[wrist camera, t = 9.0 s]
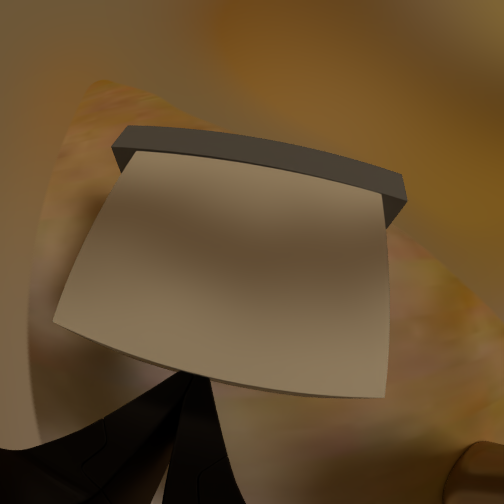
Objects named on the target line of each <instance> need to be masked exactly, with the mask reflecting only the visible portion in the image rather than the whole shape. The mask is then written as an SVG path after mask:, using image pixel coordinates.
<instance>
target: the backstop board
mask: <svg viewBox="0 0 504 504" xmlns="http://www.w3.org/2000/svg"><path fill="white" fill-rule="evenodd" d="M111 148H112V150H113V153H114V156H115V158H116V161H117V164H118V166H119V169H120V171H121V174H122V172H123V171H124V169H125V167H126V166H127V164H128V163H129V161H130V160H131V158H132V157H133V155H134V154H135V152H136V151H145V152H158V153H169V154H179V155H188V156H197V157H205V158H212V159H220V160H227V161H233V162H240V163H246V164H252V165H258V166H263V167H269V168H274V169H280V170H285V171H290V172H295V173H299V174H304V175H309V176H313V177H318V178H322V179H326V180H331V181H335V182H339V183H343V184H347V185H351V186H355V187H358V188H362V189H366V190H369V191H373V192H376V193H380V194H381V195H382V202H383V210H384V218H385V227H386V229H387V228H388V226H389V225H390V224H391V223H392V221H393V220H394V218H395V217H396V216H397V215H398V213H399V212H400V211H401V209H402V208H403V206H404V205H405V204H406V202H407V196H406V191H405V186H404V182H403V178H402V175H401V174H399V173H396V172H393V171H390V170H387V169H384V168H381V167H377V166H374V165H371V164H368V163H364V162H361V161H358V160H354V159H350V158H347V157H343V156H339V155H336V154H332V153H328V152H324V151H320V150H315V149H311V148H307V147H302V146H297V145H293V144H288V143H283V142H277V141H273V140H267V139H262V138H255V137H249V136H243V135H236V134H229V133H222V132H214V131H205V130H195V129H185V128H172V127H156V126H127V127H126V128H125V130H124V131H123V132H122V133H121V135H120V136H119V137H118V138H117V140H116V141H115V142H114V144H113V145H112V146H111Z"/></svg>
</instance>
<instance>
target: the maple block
mask: <svg viewBox="0 0 504 504" xmlns="http://www.w3.org/2000/svg"><path fill="white" fill-rule="evenodd" d="M52 322H54V323H56V324H58V325H60V326H62V327H64V328H65V329H67V330H69V331H71V332H74V333H76V334H78V335H80V336H82V337H84V338H86V339H88V340H90V341H93V342H95V343H97V344H99V345H102V346H104V347H106V348H109V349H111V350H113V351H116V352H118V353H121V354H123V355H126V356H128V357H131V358H134V359H136V360H139V361H142V362H145V363H148V364H152V365H155V366H158V367H161V368H165V369H168V370H171V371H175V372H178V371H184V372H188V373H191V374H195V375H199V376H203V377H207V378H210V381H214V382H218V383H223V384H228V385H233V386H238V387H243V388H248V389H254V390H260V391H266V392H272V393H279V394H286V395H294V396H303V397H316V398H384V397H385V388H386V378H387V367H388V353H389V329H390V288H389V264H388V249H387V237H386V227H385V218H384V210H383V202H382V195H381V194H380V193H376V192H373V191H369V190H366V189H362V188H358V187H355V186H351V185H347V184H343V183H339V182H335V181H331V180H326V179H322V178H318V177H313V176H309V175H304V174H299V173H295V172H290V171H285V170H280V169H274V168H269V167H263V166H258V165H252V164H246V163H240V162H233V161H227V160H220V159H212V158H205V157H197V156H188V155H179V154H169V153H158V152H145V151H136V152H135V154H134V155H133V157H132V158H131V160H130V161H129V163H128V164H127V166H126V167H125V169H124V171H123V172H122V174H121V175H120V177H119V179H118V180H117V182H116V184H115V185H114V187H113V189H112V190H111V192H110V194H109V195H108V197H107V199H106V201H105V203H104V204H103V206H102V208H101V210H100V212H99V213H98V215H97V217H96V219H95V221H94V223H93V225H92V227H91V229H90V231H89V233H88V235H87V237H86V239H85V241H84V243H83V245H82V247H81V250H80V252H79V254H78V256H77V258H76V261H75V263H74V265H73V268H72V270H71V272H70V275H69V277H68V280H67V282H66V285H65V287H64V290H63V292H62V295H61V298H60V300H59V303H58V306H57V309H56V312H55V315H54V318H53V321H52Z"/></svg>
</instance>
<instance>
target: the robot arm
mask: <svg viewBox="0 0 504 504" xmlns="http://www.w3.org/2000/svg"><path fill="white" fill-rule="evenodd" d="M227 456H228V455H227V451H226V447H225V443H224V439H223V435H222V431H221V427H220V423H219V419H218V414H217V410H216V406H215V401H214V397H213V392H212V387H211V382H210V378H207V377H203V376H199V375H195V374H191V373H188V372H184V371H178V372H177V373H175V374H174V375H172V376H171V377H169V378H167V379H166V380H164V381H163V382H161V383H160V384H158V385H157V386H155V387H153V388H152V389H150V390H149V391H147V392H145V393H144V394H142V395H141V396H139V397H137V398H136V399H134V400H132V401H131V402H129V403H127V404H126V405H124V406H122V407H121V408H119V409H117V410H116V411H114V412H112V413H111V414H109V415H107V416H105V417H104V419H100V420H98V421H96V422H95V423H93V424H91V425H89V426H87V427H85V428H83V429H81V430H79V431H77V432H74V433H72V434H70V435H67V436H65V437H62V438H59V439H57V440H54V441H51V442H48V443H45V444H42V445H39V446H36V447H33V448H30V449H25V450H7V449H1V448H0V504H150V503H151V501H152V499H153V497H154V495H155V493H156V490H157V488H158V486H159V484H160V482H161V480H162V477H163V475H164V473H165V471H166V469H167V466H168V464H169V468H168V474H167V479H166V484H165V489H164V495H163V500H162V504H246V503H245V501H244V499H243V497H242V495H241V492H240V490H239V488H238V486H237V483H236V481H235V478H234V475H233V472H232V469H231V465H230V462H229V458H228V457H227ZM169 462H170V463H169Z"/></svg>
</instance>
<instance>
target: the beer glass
mask: <svg viewBox="0 0 504 504" xmlns="http://www.w3.org/2000/svg"><path fill="white" fill-rule="evenodd" d="M443 504H504V445H502V444H498V443H494V442H489V441H481V442H478V443H476V444H474V445H472V446H471V447H470V448H469V449H468V450H467V451H466V452H465V453H464V454H463V455H462V456H461V457H460V459H459V460H458V461H457V463H456V464H455V466H454V467H453V469H452V471H451V473H450V475H449V477H448V479H447V482H446V485H445V488H444V492H443Z"/></svg>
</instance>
